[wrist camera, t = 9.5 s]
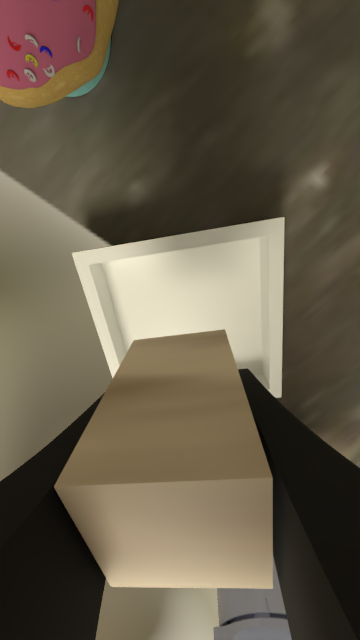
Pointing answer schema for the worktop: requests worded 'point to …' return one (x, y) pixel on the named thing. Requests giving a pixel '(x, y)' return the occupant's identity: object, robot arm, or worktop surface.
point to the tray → (193, 292)
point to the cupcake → (53, 48)
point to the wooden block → (174, 472)
